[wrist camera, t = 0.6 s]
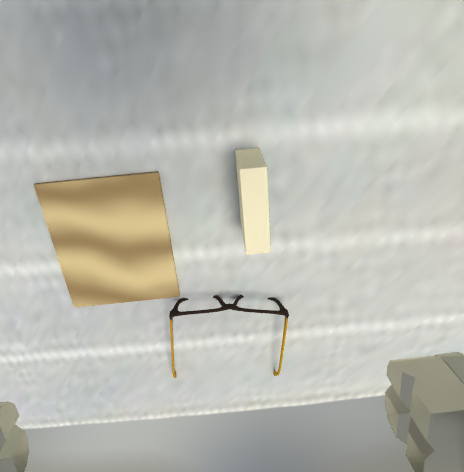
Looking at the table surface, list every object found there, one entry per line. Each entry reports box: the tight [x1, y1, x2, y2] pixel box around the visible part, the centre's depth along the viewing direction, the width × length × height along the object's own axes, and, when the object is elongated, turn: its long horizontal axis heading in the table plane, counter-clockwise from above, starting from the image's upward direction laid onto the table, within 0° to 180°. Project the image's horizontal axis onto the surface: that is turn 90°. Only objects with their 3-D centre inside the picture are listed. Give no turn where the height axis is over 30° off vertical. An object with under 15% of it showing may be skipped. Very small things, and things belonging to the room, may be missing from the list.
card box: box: [235, 148, 271, 255], centre depth 42 cm, size 9×3×6 cm, turn 5°
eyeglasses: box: [169, 295, 289, 378], centre depth 53 cm, size 14×14×4 cm
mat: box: [34, 172, 180, 307], centre depth 46 cm, size 16×13×1 cm
